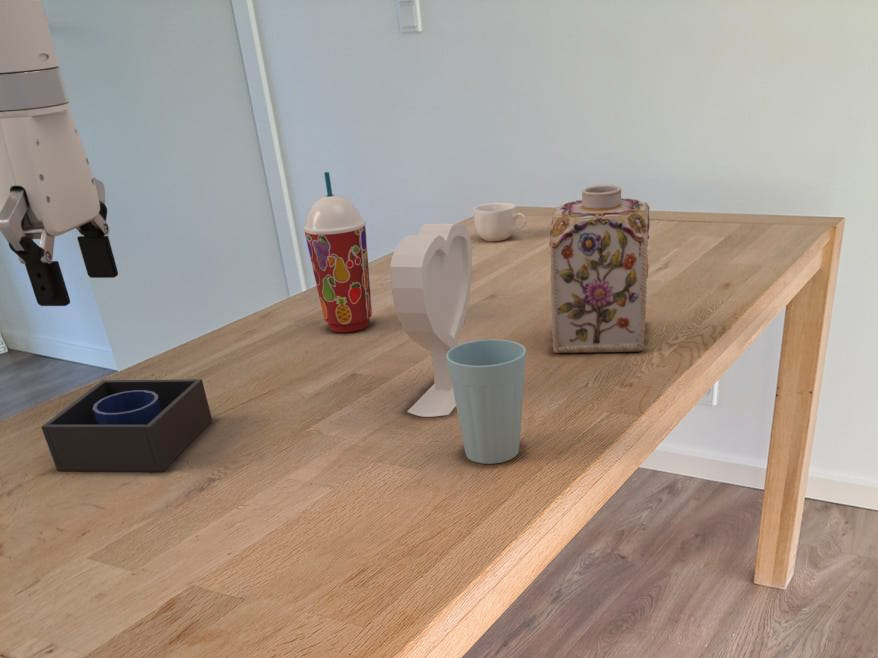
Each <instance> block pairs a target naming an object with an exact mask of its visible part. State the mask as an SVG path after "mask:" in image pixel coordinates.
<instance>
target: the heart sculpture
mask: <svg viewBox="0 0 878 658" xmlns="http://www.w3.org/2000/svg"><path fill="white" fill-rule="evenodd" d="M470 233H471V232H470V229H469V228H468V227H467V225H465V224H463V223H439V222H438V223H437V222H436V223H430V222H429V223H425V224H422V225H421V226H420V229H419V231H418V233H417V234H407V235H405V236H404V237H403V238H402V239H401V241H400V242H399V243H398V244H397V246H396V248H395V249H394V252H393V253H392V256H391V260H390V265H389V278H390V289H391V295H392V301H393V305H394V310H395V314H396V316H397V319H398V321H399V323H400V326H401V328H402V330H403V332H404V333H405V334H406V335H407V336H408V337H409V339H410V340H411V341H412V342H415V344H417V345H419V346H420V347H422V348H423V349H425V350H426V351H427V352H428V351H429V352H430V351H431V359H432V361H431V362H432V370H433V380H434V383H433V384H432V385H431V387H429V388H428V389H427V390H426V391H425V393H423V395H422V396H421V397H420V398H419V399H418V400H417V401H416V402H415V403H414V404H413V405H412V406H411V407H410V408H409V409H408V410H407V413H409V414H411V415H414V416H418V417H423V418H430V417H431V418H433V417H443V416H448V415H450V414H451V413H452V411H453V410H454V409H455V408H457V407H456V402H455V397H454V392H453V387H452V382H451V378H450V375H449V370H448V365H447V360H446V354H447V352H448V351H449V350H450V349H451V348H453V347H455V346H457V345H459V340H460V337H461V334H462V330H463V327H464V324H465V320H466V316H467V312H468V308H469V303H470V297H471V288H472V279H473V250H472V241H471V234H470Z"/></svg>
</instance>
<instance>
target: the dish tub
mask: <svg viewBox="0 0 878 658" xmlns="http://www.w3.org/2000/svg"><path fill="white" fill-rule="evenodd" d="M133 390H147V391H152V392H155V393H156V394H157V395H158V396H159V399H160V403H161V407H162V410H163V411H162V412H161V413H160V414H158V415H157V416H156V417H155V418H154V419H153V420H152V421H151V422H150V423H149V424H147V425H98V424H97V421H96V418H95V415H94V412H93V406H94V404H95V403H97V402H98V401H99V400H101V399H103V398H105V397H107V396H110V395H113V394H117V393H120V392H126V391H133ZM212 423H213V417H212V413H211V410H210V405H209V401H208V398H207V393H206V390H205V387H204V382H203V379H202V378H199V379H190V378H189V379H188V378H187V379H102V380H101V381H100V382H98V383H97V384H96V385H94V386H93V387H92V388H90V389H89V390H88V391H87V392H85V393H83V394H82V395H81V396H79V397H78V398H77V399H76V400H74V401H73V402H72V403H70V404H69V405H68V406H67V407H65V408H64V409H62V410H61V411H60V412H59V413H57V414H56V415H54V416H53V417H52V418H51V419H49V420H48V421H46V422H45V423H43V425H41V426H40V428H41V431H42V433H43V437H44V439H45V441H46V444H47V447H48V449H49V453H50V455H51V458H52V461H53V462H54V466H55V469H56V471H57V472H58V471H59V472H134V473H135V472H137V473H138V472H141V473H143V472H144V473H145V472H149V473H150V472H152V473H153V472H155V473H164V472H165V471H166V470H167V469H168V468H169V467H170V466H171V465H172V463H174V462H175V461H176V460H177V459H178V457H180V455H182V454H183V452H184V451H186V449H187V448H188V447H189V446H190V445H191V444H192V443H193V442H194V441H195V440H196V439H197V438H198V437H199V436H200V435H201V434H202V433H203V432H204V431H205V430H206V429H207V428H208V427H209V426H210V425H211V424H212Z"/></svg>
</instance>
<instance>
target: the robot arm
mask: <svg viewBox="0 0 878 658" xmlns="http://www.w3.org/2000/svg"><path fill="white" fill-rule="evenodd" d="M53 41H54V40H53V37H52V34H51V30H50V26H49V22H48V19H47V15H46V12H45V8H44V5H43V1H42V0H0V233H1V234H2V236H3V237H4V239H5V240H6V241H7V243H8V247H9V248H10V249H9V250H11V251H12V252H13V253H14V254H16V255H17V259H18V261H19V262H20V263H21V264H22V265H24V266H25V270H26V272H27V276H28V278H29V281H30V284H31V287H32V290H33V294H34V297H35V300H36V303H37V304H38V305H39V306H41V307H66V306H68V305H70V304H71V298H70V295H69V292H68V288H67V284H66V281H65V279H64V276H63V272H62V269H61V266H60V262H59V260H53V258H54V247H55V238H56V237H58V236H61V235H64V234H66V233H69V232H70V231H72V230H74V229H76V230H77V232H78V233H79V234H80V235H79V236H77V237H76V239H77V243H78V246H79V249H80V252H81V256H82V259H83V262H84V267H85V270H86V274H87V276H88V277H89V278H91V279H112V278H116V277H117V276H119V271H118V267H117V264H116V259H115V256H114V252H113V247H112V246H111V245H112V244H111V241H110V238H109V234H110V227H109V224H108V223H107V218H108V207H107V205H106V189H105V188H106V187H105V184H104V182H103V181H101V180H99V179H98V178H96V177H94V175H93V171H92V167H91V165H90V161H89V159H88V155H87V153H86V149H85V147H84V144H83V141H82V137H81V134H80V132H79V130H78V126H77V125H76V122H75V119H74V117H73V115H72V112H71V110H72V107H71V104H70V101H69V97H68V93H67V89H66V85H65V82H64V78H63V74H62V70H61V68H60V63H59V60H58V55H57V51H56V47H55V45H54V42H53ZM34 240H40V245H39V244H37V243H36V242H35V241H34Z"/></svg>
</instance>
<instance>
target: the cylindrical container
mask: <svg viewBox="0 0 878 658" xmlns="http://www.w3.org/2000/svg"><path fill="white" fill-rule="evenodd" d="M162 411H163V410H162V407H161V403H160V399H159V396H158V395H157V394H156V393H155V392H152V391H147V390H133V391H126V392H120V393H117V394H113V395H110V396H107V397H105V398H103V399H101V400H99V401H98V402H97V403H95V404H94V406H93V412H94V415H95V418H96V421H97V424H98V425H147V424H149V423H150V422H151V421H152V420H153V419H154V418H155V417H156V416H157V415H158V414H160V413H161V412H162Z"/></svg>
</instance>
